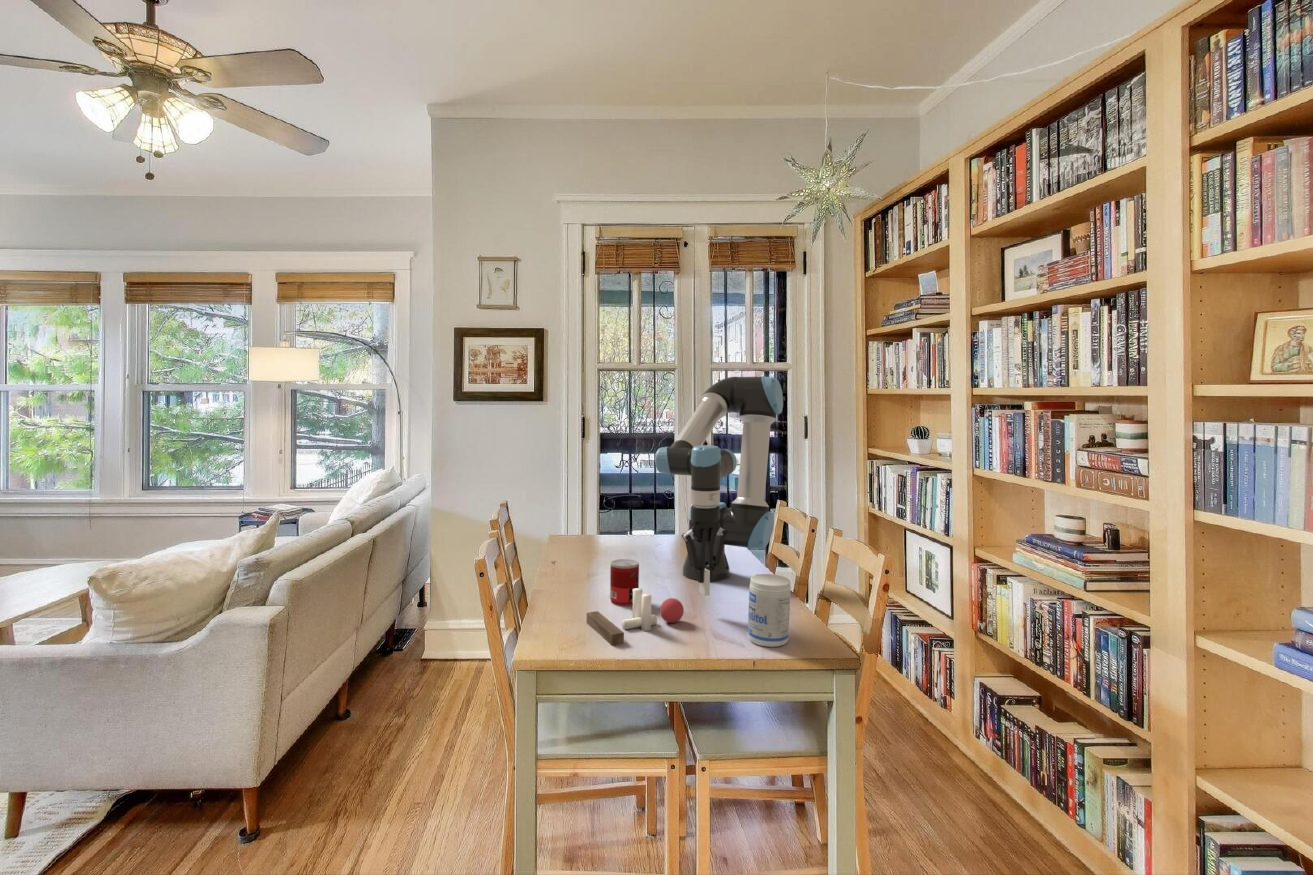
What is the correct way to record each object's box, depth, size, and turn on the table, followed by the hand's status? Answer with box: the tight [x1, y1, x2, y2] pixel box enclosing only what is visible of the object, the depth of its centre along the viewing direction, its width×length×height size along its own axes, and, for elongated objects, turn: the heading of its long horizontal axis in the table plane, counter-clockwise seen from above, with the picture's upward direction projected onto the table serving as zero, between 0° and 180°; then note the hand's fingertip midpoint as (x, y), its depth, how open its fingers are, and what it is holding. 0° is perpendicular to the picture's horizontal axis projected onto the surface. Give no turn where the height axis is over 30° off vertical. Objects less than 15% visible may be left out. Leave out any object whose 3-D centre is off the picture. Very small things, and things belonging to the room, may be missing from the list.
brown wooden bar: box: [586, 610, 625, 646], centre depth 150 cm, size 3×16×2 cm, turn 27°
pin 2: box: [640, 593, 652, 632], centre depth 152 cm, size 2×2×8 cm
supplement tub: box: [747, 573, 792, 648], centre depth 146 cm, size 10×10×15 cm
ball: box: [659, 598, 685, 624], centre depth 158 cm, size 6×6×6 cm
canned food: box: [609, 558, 640, 606], centre depth 173 cm, size 8×8×11 cm
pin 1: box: [632, 587, 643, 618], centre depth 157 cm, size 2×2×8 cm
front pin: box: [621, 614, 658, 631], centre depth 154 cm, size 2×2×8 cm
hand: (704, 593), depth 163 cm, fingers closed
